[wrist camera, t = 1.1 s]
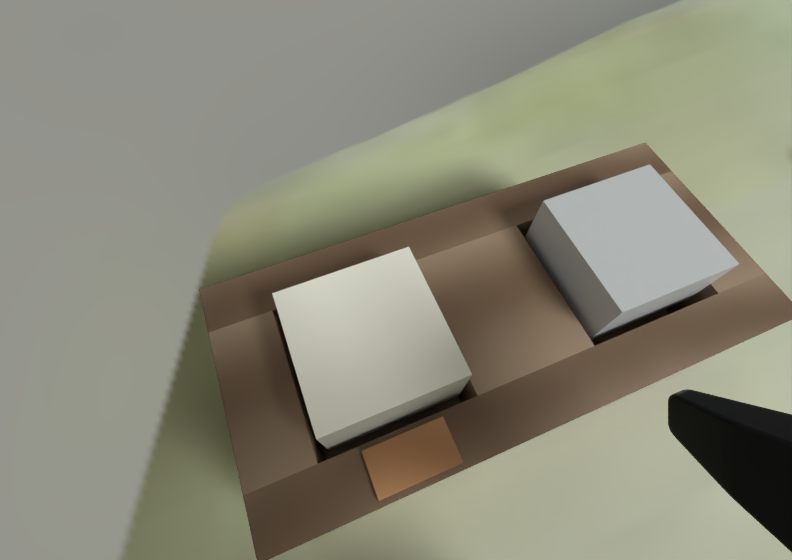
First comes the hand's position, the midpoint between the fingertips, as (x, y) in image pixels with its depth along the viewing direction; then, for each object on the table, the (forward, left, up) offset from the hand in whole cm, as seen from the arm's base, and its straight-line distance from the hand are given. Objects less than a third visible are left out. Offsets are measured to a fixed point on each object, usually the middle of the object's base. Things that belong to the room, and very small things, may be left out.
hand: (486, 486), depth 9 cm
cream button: (+4, +4, -7) cm, 9 cm away
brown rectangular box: (+7, 0, -14) cm, 16 cm away
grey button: (+11, -4, -7) cm, 13 cm away
